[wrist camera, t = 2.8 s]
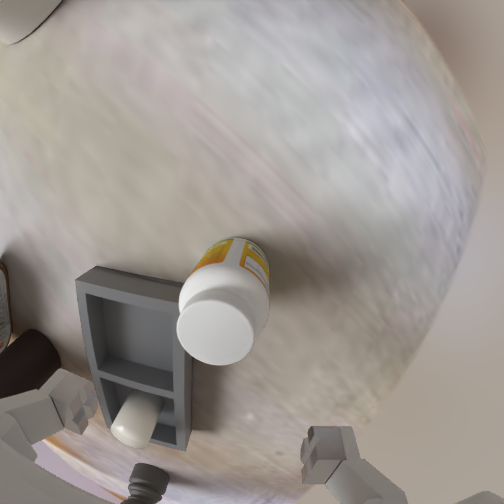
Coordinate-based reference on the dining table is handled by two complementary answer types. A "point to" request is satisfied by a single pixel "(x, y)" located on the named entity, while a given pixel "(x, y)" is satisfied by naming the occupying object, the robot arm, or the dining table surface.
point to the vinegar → (27, 364)
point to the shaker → (137, 418)
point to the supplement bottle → (225, 302)
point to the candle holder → (146, 484)
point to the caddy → (137, 347)
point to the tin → (4, 310)
